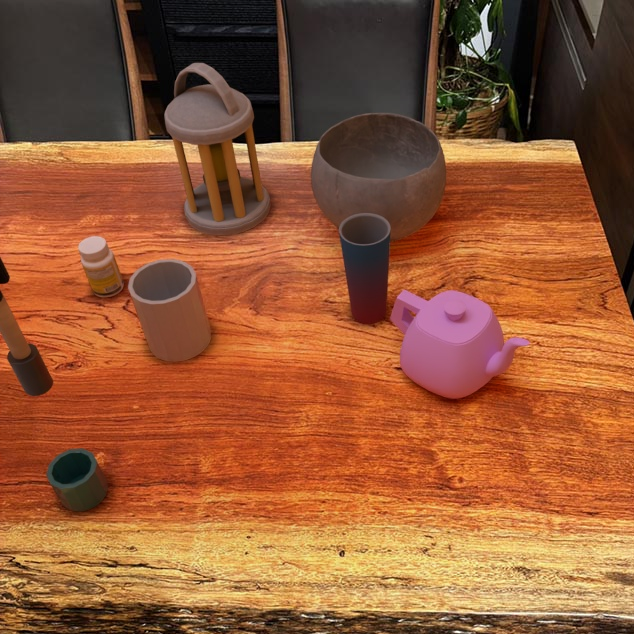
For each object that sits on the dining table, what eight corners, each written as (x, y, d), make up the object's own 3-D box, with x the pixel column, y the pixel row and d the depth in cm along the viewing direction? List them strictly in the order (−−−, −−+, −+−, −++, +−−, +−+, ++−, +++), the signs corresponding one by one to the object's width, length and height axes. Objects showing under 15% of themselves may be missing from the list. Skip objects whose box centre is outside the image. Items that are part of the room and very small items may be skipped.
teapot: (495, 433, 101) (503, 374, 92) (366, 367, 109) (362, 308, 101) (545, 367, 108) (556, 307, 99) (420, 310, 116) (421, 250, 108)
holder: (56, 513, 95) (42, 489, 91) (65, 474, 99) (52, 450, 95) (104, 510, 95) (91, 486, 91) (111, 471, 99) (99, 446, 95)
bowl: (403, 282, 120) (402, 199, 109) (292, 240, 128) (280, 158, 116) (466, 210, 131) (471, 127, 120) (361, 175, 139) (356, 94, 128)
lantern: (287, 198, 135) (268, 55, 116) (235, 245, 127) (206, 100, 109) (221, 175, 140) (192, 34, 122) (167, 219, 132) (128, 76, 114)
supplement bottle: (101, 275, 123) (84, 232, 117) (129, 279, 123) (114, 235, 116) (87, 296, 120) (69, 253, 114) (116, 300, 120) (100, 256, 113)
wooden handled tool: (21, 397, 84) (-57, 256, 69) (27, 375, 86) (-47, 234, 71) (50, 395, 84) (-22, 254, 69) (56, 374, 86) (-13, 232, 71)
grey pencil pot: (144, 364, 111) (123, 305, 102) (152, 319, 116) (133, 261, 108) (208, 359, 111) (192, 301, 103) (213, 315, 117) (198, 256, 108)
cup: (396, 324, 114) (395, 241, 103) (349, 331, 114) (342, 248, 102) (388, 293, 119) (385, 209, 107) (342, 299, 118) (335, 216, 107)
